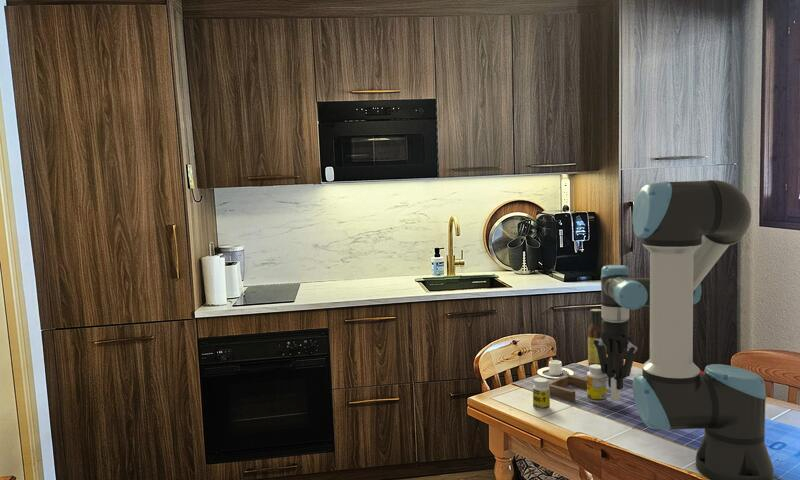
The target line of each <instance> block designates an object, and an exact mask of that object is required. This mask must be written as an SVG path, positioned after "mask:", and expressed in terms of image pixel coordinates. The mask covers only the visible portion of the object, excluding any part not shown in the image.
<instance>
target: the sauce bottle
mask: <svg viewBox="0 0 800 480" xmlns="http://www.w3.org/2000/svg"><path fill="white" fill-rule="evenodd" d="M589 314H590V324H589V326H588V328H587V362H588V367H589V366H590V365H594V364H597V365H600V361H599V356H598V352H597V348H596V346H595V344H594V340H597V339H600V338H601V335H602V319H603V318H602V317H601V309H600V308H592V309H590V310H589ZM604 346H605V344H604ZM605 350H606V346H605ZM606 354H607V353H606Z"/></svg>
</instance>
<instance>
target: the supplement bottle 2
mask: <svg viewBox="0 0 800 480" xmlns="http://www.w3.org/2000/svg"><path fill="white" fill-rule="evenodd" d="M588 367H589V368H588V370H589V371H587V373H586V379H587V390H586V397H587V400H588V401H590V402H594V403H603V402H605V401H607V398H608V397H607V395H608V393H607V392H608V391H607V389H608V388H607V386H608V383H607V375H606V374H603V373H602V370H601V366H600V365H597V364H594V365H590V366H589V365H588Z"/></svg>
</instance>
